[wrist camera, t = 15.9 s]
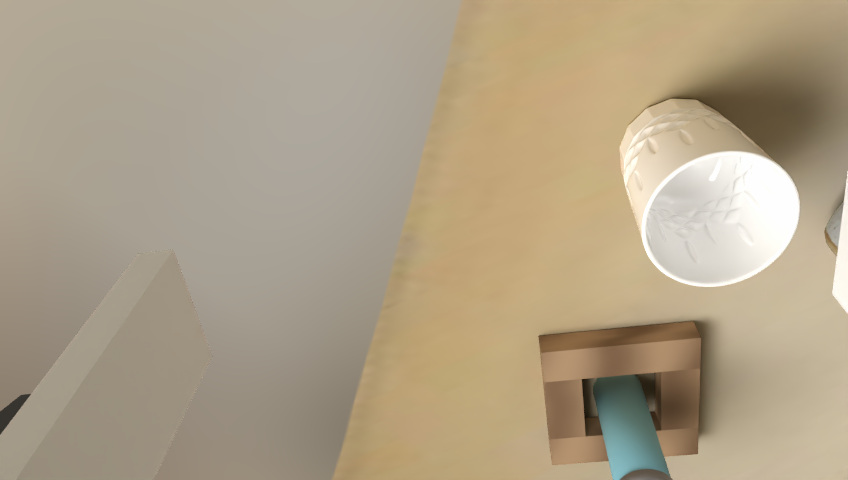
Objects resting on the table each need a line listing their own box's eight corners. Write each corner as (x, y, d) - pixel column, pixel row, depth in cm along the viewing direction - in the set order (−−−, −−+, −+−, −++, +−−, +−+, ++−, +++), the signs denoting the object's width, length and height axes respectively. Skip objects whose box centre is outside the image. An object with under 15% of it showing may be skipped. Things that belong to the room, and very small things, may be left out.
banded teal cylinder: (642, 366, 55) (683, 492, 45) (643, 405, 57) (683, 535, 47) (590, 371, 56) (619, 497, 45) (592, 409, 58) (621, 539, 47)
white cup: (764, 124, 46) (834, 194, 37) (686, 223, 49) (733, 309, 41) (657, 65, 44) (704, 124, 36) (585, 172, 48) (611, 249, 39)
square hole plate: (693, 320, 53) (701, 337, 51) (690, 435, 58) (697, 453, 57) (538, 335, 54) (541, 352, 53) (549, 446, 60) (552, 465, 58)
